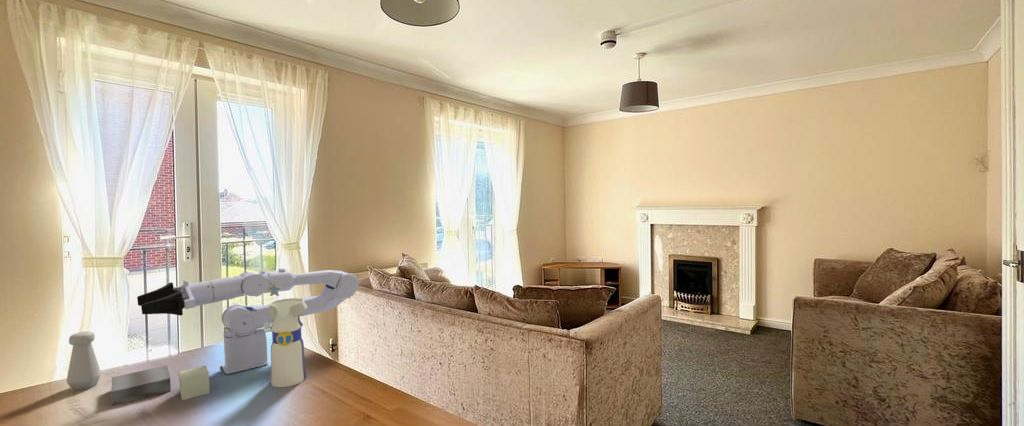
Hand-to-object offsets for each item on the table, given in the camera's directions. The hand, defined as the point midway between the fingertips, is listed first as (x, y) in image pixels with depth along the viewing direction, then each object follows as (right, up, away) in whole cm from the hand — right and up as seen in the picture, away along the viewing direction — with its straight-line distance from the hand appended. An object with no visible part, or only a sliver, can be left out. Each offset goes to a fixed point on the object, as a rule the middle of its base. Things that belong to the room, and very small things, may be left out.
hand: (139, 305), depth 98 cm
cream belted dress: (+31, -20, +7) cm, 38 cm away
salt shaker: (-16, -20, +4) cm, 27 cm away
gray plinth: (-1, -20, +2) cm, 20 cm away
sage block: (+12, -20, 0) cm, 24 cm away
